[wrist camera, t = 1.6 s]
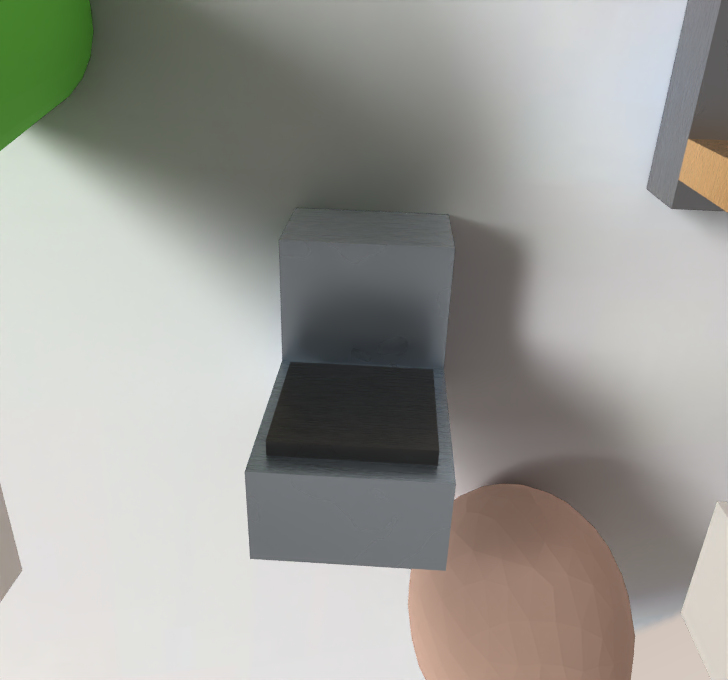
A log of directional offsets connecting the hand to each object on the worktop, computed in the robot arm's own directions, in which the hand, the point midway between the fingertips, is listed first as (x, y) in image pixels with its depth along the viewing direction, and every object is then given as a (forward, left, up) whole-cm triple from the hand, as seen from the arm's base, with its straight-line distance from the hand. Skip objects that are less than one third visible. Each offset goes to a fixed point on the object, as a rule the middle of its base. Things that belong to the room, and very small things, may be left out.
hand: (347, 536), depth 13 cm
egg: (+8, +5, -10) cm, 14 cm away
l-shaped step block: (0, 0, -10) cm, 10 cm away
